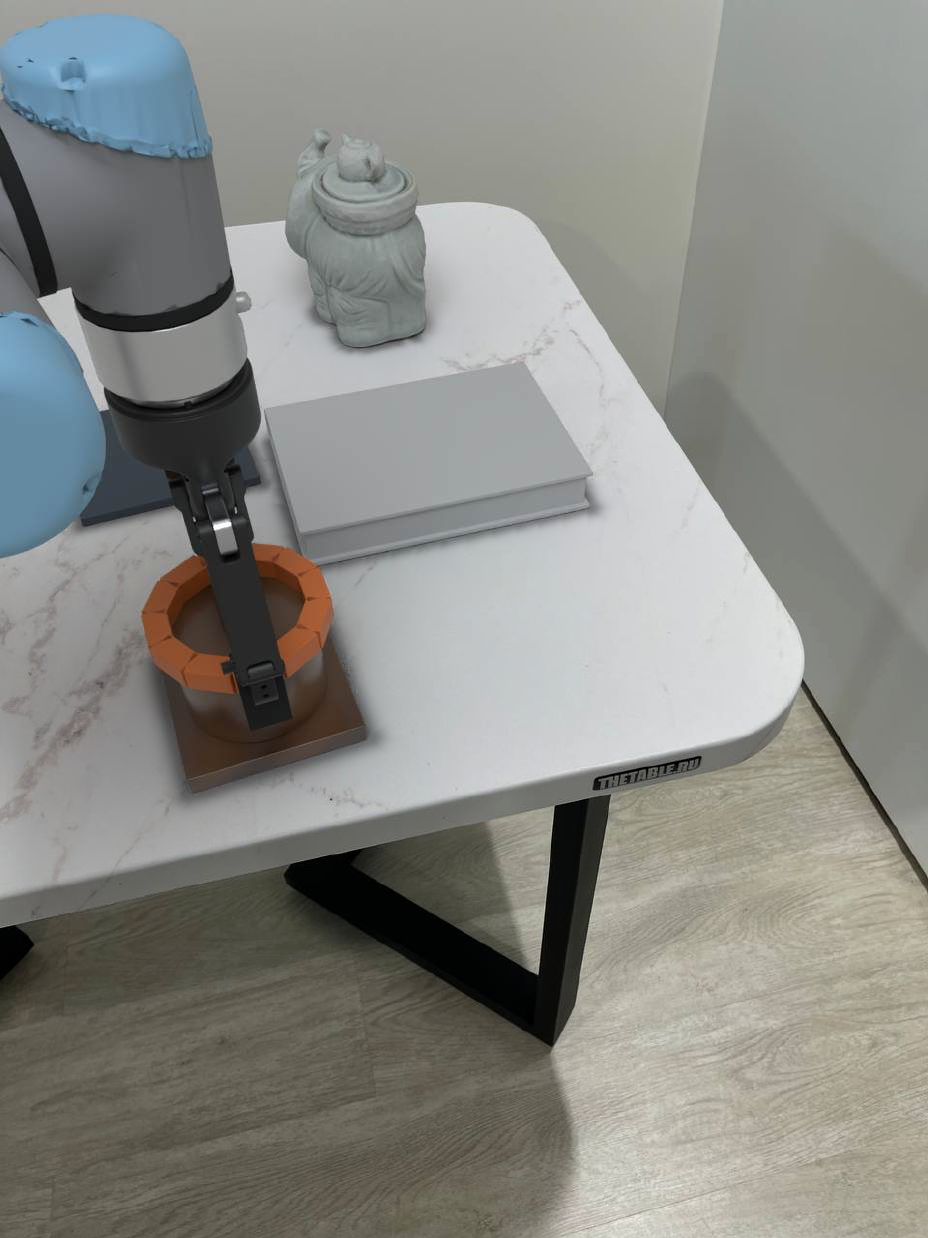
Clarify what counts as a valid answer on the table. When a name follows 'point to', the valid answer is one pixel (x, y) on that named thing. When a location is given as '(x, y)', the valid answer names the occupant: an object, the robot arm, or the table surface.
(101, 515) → the mat
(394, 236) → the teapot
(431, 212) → the table surface
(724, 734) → the table surface
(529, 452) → the book
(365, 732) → the ring stand
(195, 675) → the ring
